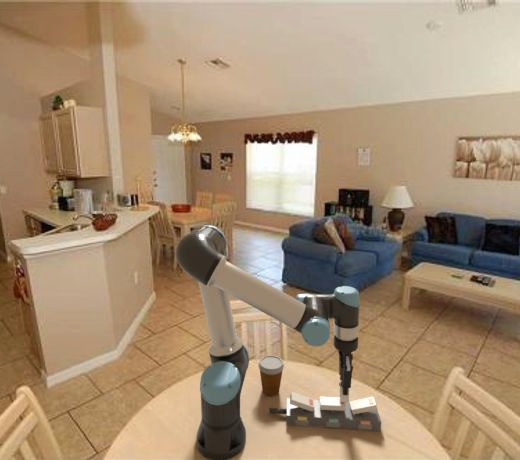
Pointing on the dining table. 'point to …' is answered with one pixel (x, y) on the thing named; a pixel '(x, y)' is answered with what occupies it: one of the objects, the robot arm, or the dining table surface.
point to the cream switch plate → (332, 403)
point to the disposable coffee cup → (271, 374)
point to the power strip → (330, 417)
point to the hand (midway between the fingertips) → (344, 400)
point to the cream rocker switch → (363, 405)
